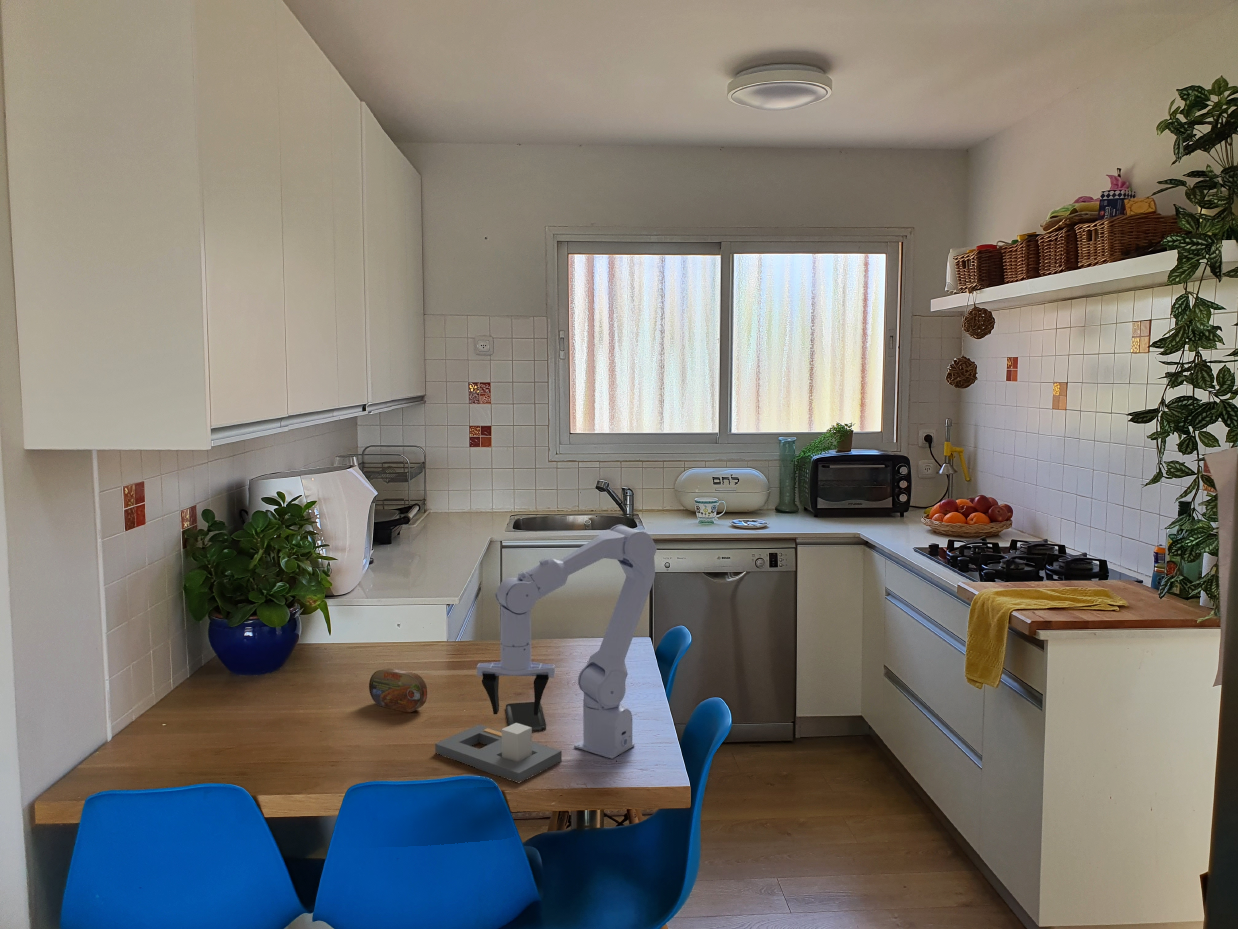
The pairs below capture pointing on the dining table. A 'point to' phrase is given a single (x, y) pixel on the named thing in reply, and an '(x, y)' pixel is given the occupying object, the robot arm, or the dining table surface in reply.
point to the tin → (398, 690)
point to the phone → (525, 715)
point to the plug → (517, 742)
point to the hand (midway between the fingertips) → (516, 713)
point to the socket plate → (495, 754)
